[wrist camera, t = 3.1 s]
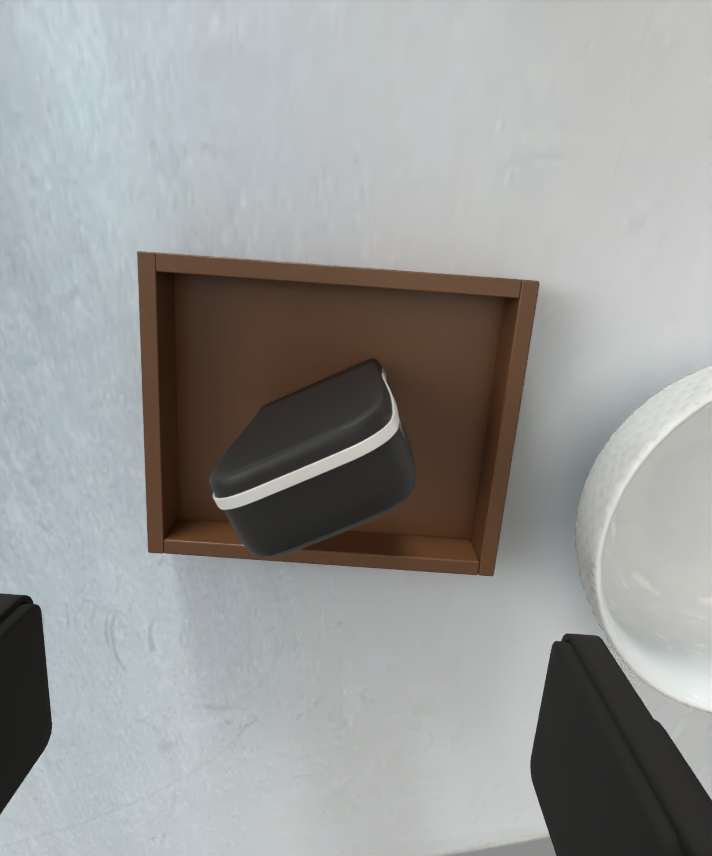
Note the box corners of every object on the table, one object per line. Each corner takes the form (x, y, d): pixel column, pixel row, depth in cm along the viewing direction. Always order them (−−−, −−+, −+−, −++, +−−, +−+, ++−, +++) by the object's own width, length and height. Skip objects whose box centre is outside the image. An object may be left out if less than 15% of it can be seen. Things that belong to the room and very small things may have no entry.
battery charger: (287, 471, 29) (242, 591, 18) (255, 407, 28) (187, 494, 17) (409, 420, 29) (438, 514, 18) (379, 352, 28) (391, 406, 17)
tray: (166, 528, 31) (147, 552, 28) (159, 253, 27) (136, 251, 24) (482, 550, 31) (493, 577, 28) (522, 279, 27) (540, 281, 24)
